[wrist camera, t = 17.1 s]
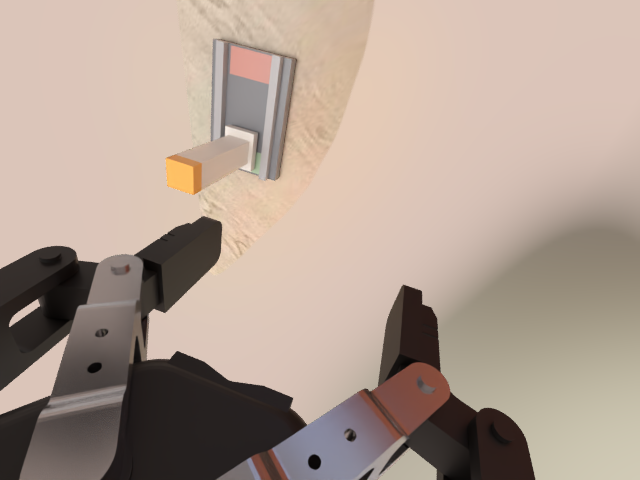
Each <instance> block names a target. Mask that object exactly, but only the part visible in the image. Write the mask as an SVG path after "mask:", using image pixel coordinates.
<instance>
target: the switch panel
mask: <svg viewBox="0 0 640 480" xmlns="http://www.w3.org/2000/svg"><path fill="white" fill-rule="evenodd" d="M295 65H296V59H293V58H289V57H285V56H282V55H278V54H274V53H270V52H266V51H262V50H258V49H255V48H251V47H247V46H243V45H239V44H235V43H232V42H228V41H224V40H220V39H213V64H212V108H211V141H213V140H216V139H219V138H222V137H224V136H225V126H227V125H233V126H237V127H240V128H244V129H247V130H250V131H254V132H257V133H258V139H257V149H256V159H255V169H254V170H253V171H251V172H250V171H246V170H243V169H240V168H239V170H242V171H245V172H249V173H252V174H255V175H258V176H259V179H261V180H264V181H266V180H267V179H271V180H274V181H275V180H276V179H278V178H279V174H280V167H281V160H282V153H283V146H284V140H285V133H286V126H287V119H288V112H289V105H290V99H291V92H292V85H293V78H294V71H295Z"/></svg>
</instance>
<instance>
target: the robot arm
mask: <svg viewBox="0 0 640 480" xmlns="http://www.w3.org/2000/svg"><path fill="white" fill-rule="evenodd" d="M221 236H222V224H221V222H219V221H217V220H214V219H211V218H208V217H205V216H203V217H201V218H199V219H198V220H197V221H195V222H194V223H192V224H190V223H187V224H185V225H181V226H178V227H176V228H174V229H173V230H171V231H170V232H168V234H165V235H164V236H162V237H161V238H160V239H158V240H156V241H155V242H153V243H152V244H150V245H149V246H147V247H146V248H144V249H143V250H141V251H140V252H138V253H137V254H135V255H134V256H133V255H127V254H125V255H123V254H122V255H115V256H111V257H109V258H106V259H104V260H103V261H101V262H100V263H94V262H85V261H78V259H77V255H76V252H75V251H74V250H73V249H71V248H69V247H64V246H51V247H46V248H42V249H39V250H36V251H34V252H32V253H30V254H28V255H26V256H24V257H22V258H20V259H19V260H17V261H15V262H13V263H11V264H9V265H7V266H5V267H3V268H1V269H0V391H1V390H2V389H3V388H4V387H6V386H7V385H8V384H9V383H10V382H12V381H13V380H14V379H15V378H16V377H18V376H19V375H20V374H21V373H22V372H24V371H25V370H26V369H27V368H28V367H29V366H31V365H32V364H33V363H34V362H35V361H37V360H38V359H39V358H40V357H42V356H43V355H44V354H45V353H46V352H48V351H49V350H50V349H51V348H52V347H53V346H55V345H56V344H57V343H58V342H59V341H61V340H62V339H63V338H64V337H66V336H67V335H68V334H69V333H70V334H69V338H68V341H67V345H66V347H65V351H64V354H63V357H62V361H61V364H60V368H59V371H58V374H57V377H56V381H55V384H54V387H53V391H52V394H51V396H48V397H45V398H43V399H40V400H38V401H35V402H32V403H30V404H27V405H24V406H22V407H19V408H17V409H14V410H12V411H9V412H6V413H4V414H1V415H0V480H378V479H379V478H380V477H381V476H382V475H383V474H384V473H385V472H386V471H387V470H388V469H389V468H390V467H391V466H392V465H393V464H395V463H396V462H397V461H398V460H399V459H400V458H401V457H402V456H403V455H404V454H405V453H406V452H407V451H408V450H409V449H412V450H413V451H415V452H416V453H417V454H419V455H420V456H421V457H422V458H424V459H425V460H426V461H427V462H429V463H430V464H431V465H433V466H434V467H435V468H436V469H437V480H535V476H534V471H533V467H532V462H531V458H530V453H529V449H528V445H527V441H526V438H525V436H524V434H523V433H522V431H521V429H520V428H519V427H518V425H517V424H516V423H515V422H514V421H513V420H512V419H511V418H510V417H508V416H507V415H505V414H504V413H502V412H500V411H498V410H496V409H492V408H484V409H481V410H480V411H479V412H476V411H475V410H473V409H472V408H471V407H469V406H468V405H466V404H465V403H463V402H462V401H460V400H459V399H458V398H456V397H455V396H454V395H453V394H452V393H451V392H450V387H449V384H448V382H447V380H446V379H445V377H444V376H443V375H442V374H441V371H440V356H439V340H438V331H437V329H438V324H437V318H436V316H435V314H434V312H433V310H432V308H431V307H428V306H425V305H422V291H421V290H418V289H415V288H412V287H409V286H406V285H403V286H402V287H401V289H400V292H399V294H398V296H397V298H396V300H395V302H394V305H393V307H392V309H391V311H390V314H389V316H388V319H387V324H386V329H385V337H384V344H383V352H382V360H381V367H380V374H379V382H378V387H377V388H375V389H374V390H372V391H369V390H368V389H363V390H361V391H359V392H357V393H356V394H354V395H353V396H351V397H350V398H348V399H347V400H345V401H344V402H342V403H341V404H339V405H338V406H336V407H335V408H333V409H332V410H330V411H329V412H327V413H325V414H324V415H323V416H321V417H320V418H318V419H316V420H315V421H314V422H312V423H310V424H309V425H307V424H306V423H305V422H304V420H303V419H302V418H301V417H300V416H299V415H298V414H297V413H296V412H295V411H293V410H292V409H291V408H290V407H291V404H292V400H293V398H292V397H290V396H287V395H285V394H282V393H280V392H277V391H275V390H272V389H270V388H267V387H265V386H260V385H253V384H246V383H239V382H232V381H229V380H227V379H226V378H224V377H223V376H222V375H221V374H219V373H218V372H217V371H215V370H214V369H213V368H212V367H210V366H209V365H208V364H206V363H205V362H203V361H201V360H198V359H195V358H193V357H191V356H188V355H186V354H183V353H181V352H179V351H177V352H176V353H175V354H174V355H173V356H172V357H171V359H170V360H169V359H154V360H147V344H148V329H149V313H150V312H151V311H152V310H153V309H156V310H159V311H161V312H164V313H165V312H167V311H168V310H169V309H170V308H171V307H172V306H173V305H174V304H175V303H176V302H177V301H178V300H179V299H180V298H181V297H182V296H183V295H184V294H185V293H186V292H187V291H188V290H189V289H190V288H191V287H192V286H193V285H194V284H195V283H196V282H197V281H198V280H199V279H200V278H201V277H203V276H204V274H205V273H207V272H208V271H209V270H210V269H211V268H212V267H213V266H214V265H215V264H216V262H217V261H218V259H219V256H220V253H221ZM37 299H38V301H39V304H40V307H38V308H37V309H35V310H34V311H32V312H31V313H30V314H28V315H27V316H25V317H24V318H22V319H21V320H19V321H18V322H16V323H15V324H14V325H12V326H11V327H9V322H10V320H11V318H12V317H13V316H14V315H15V314H16V313H17V312H18V311H20V310H21V309H23V308H24V307H26V306H27V305H29V304H30V303H32V302H33V301H35V300H37Z"/></svg>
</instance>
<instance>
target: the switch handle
mask: <svg viewBox="0 0 640 480" xmlns="http://www.w3.org/2000/svg"><path fill="white" fill-rule="evenodd" d="M257 139H258V133H257V132H254V131H250V130H247V129H244V128H240V127H237V126H233V125H227V126H225V136H224V137H222V138H219V139H216V140H213V141H211V142H208V143H205V144H203V145H200V146H197V147H194V148H192V149H189V150H186V151H184V152H181V153H178V154H176V155H173V156H170V157H167V158H166V170H167V186H168V187H171V188H175V189H177V190H180V191H183V192H186V193H189V194H192V195H194V194H196V193H198V192H199V191H201V190H203V189H205V188H206V187H208V186H210V185H211V184H213V183H215V182H217V181H218V180H220V179H222V178H224V177H225V176H227V175H229V174H231V173H232V172H234V171H236V170H238V169H239V168H240V169H243V170H246V171H250V172H251V171H253V170H254V169H255V159H256V149H257Z"/></svg>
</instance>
